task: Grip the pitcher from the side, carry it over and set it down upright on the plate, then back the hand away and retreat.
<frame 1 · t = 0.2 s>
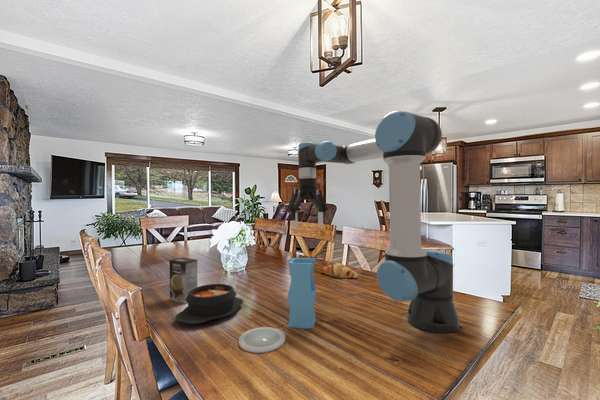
hand: (308, 227, 123), 27 cm above the table, tool pointing down, fingers open, 13 cm apart
croissant: (338, 276, 146), on the table
vase: (302, 322, 92), on the table
casserole: (211, 314, 99), on the table
plate: (262, 340, 80), on the table
coffee box: (183, 300, 113), on the table
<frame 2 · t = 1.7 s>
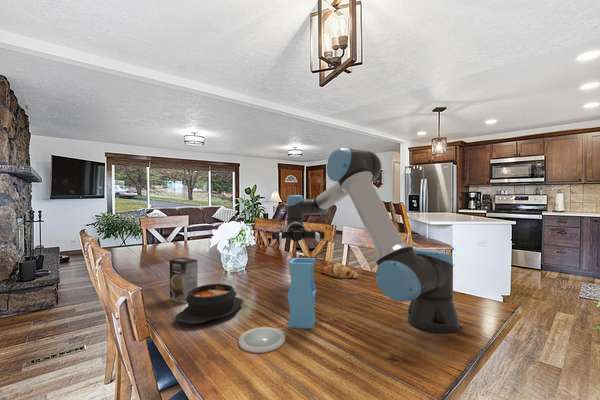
hand: (299, 238, 101), 26 cm above the table, tool horizontal, fingers open, 13 cm apart
nothing on the table moved.
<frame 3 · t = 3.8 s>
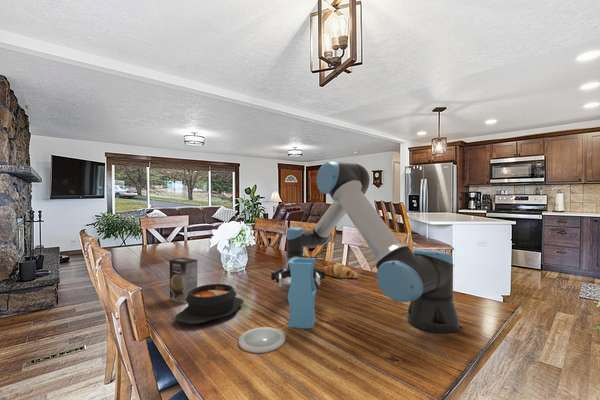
hand: (299, 282, 99), 11 cm above the table, tool horizontal, fingers open, 13 cm apart
nothing on the table moved.
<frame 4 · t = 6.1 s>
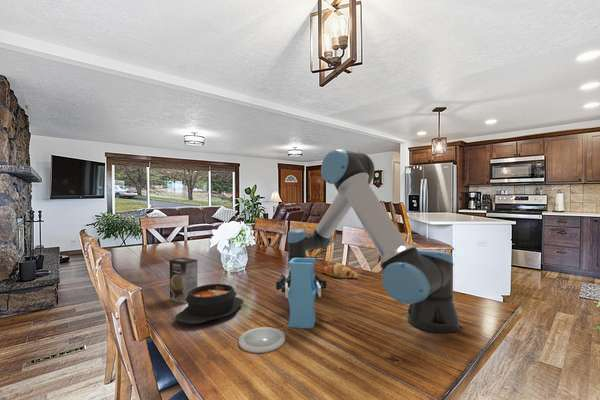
hand: (303, 292, 87), 11 cm above the table, tool horizontal, fingers closed on vase, 9 cm apart
vase: (302, 322, 92), on the table, touching gripper
everything else where it was.
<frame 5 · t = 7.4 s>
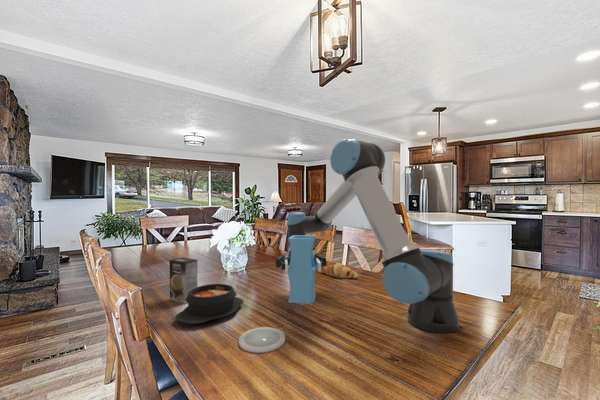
hand: (303, 268, 87), 19 cm above the table, tool horizontal, fingers closed on vase, 9 cm apart
vase: (302, 299, 92), point 7 cm above the table, touching gripper
everything else where it was.
when the fingers open (13 cm above the table, at t = 10.1 s): vase drops 1 cm, resting on plate.
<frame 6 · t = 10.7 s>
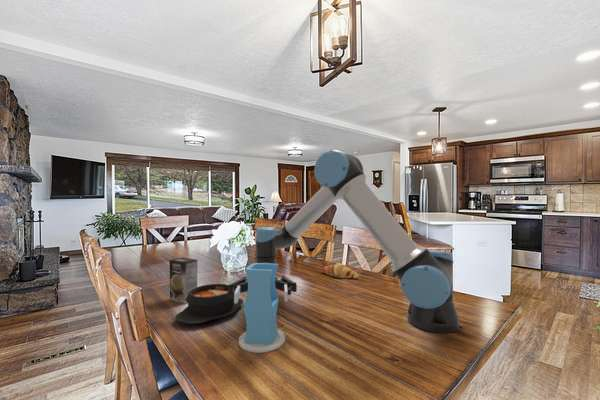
hand: (261, 297, 77), 13 cm above the table, tool horizontal, fingers open, 13 cm apart
vase: (262, 337, 81), point 1 cm above the table, touching plate
everything else where it was.
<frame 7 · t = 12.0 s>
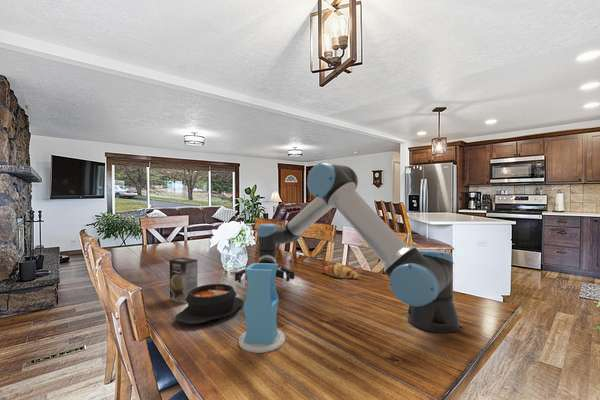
hand: (263, 282, 90), 13 cm above the table, tool horizontal, fingers open, 13 cm apart
nothing on the table moved.
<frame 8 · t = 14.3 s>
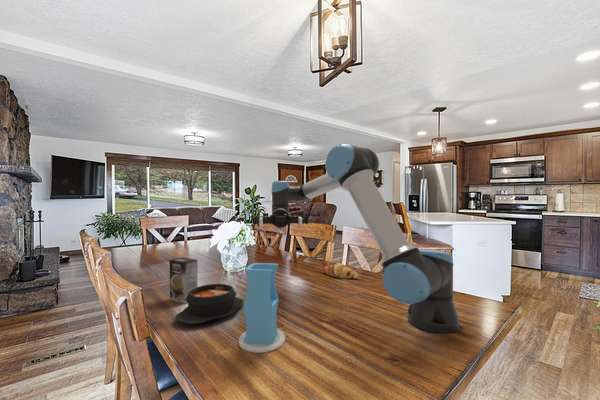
hand: (280, 222, 96), 32 cm above the table, tool horizontal, fingers open, 13 cm apart
nothing on the table moved.
at the end: vase 0.1 cm from the plate (horizontally); vase tilted 0°; the gripper is holding nothing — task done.
